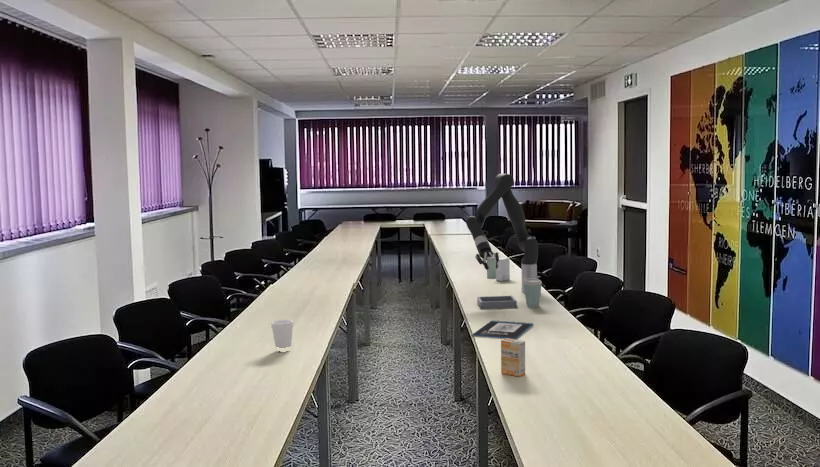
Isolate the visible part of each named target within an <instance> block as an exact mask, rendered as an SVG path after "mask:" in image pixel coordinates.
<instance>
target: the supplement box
mask: <svg viewBox="0 0 820 467" xmlns="http://www.w3.org/2000/svg"><path fill="white" fill-rule="evenodd" d="M500 365H501V366H500V371H501V372H500V373H502V375H508V376H514V377H518V378H521V377H522V376H524V375H526V341H525V340H519V339H517V340H514V339H509V338H506V339H500Z"/></svg>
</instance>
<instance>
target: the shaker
mask: <svg viewBox="0 0 820 467" xmlns="http://www.w3.org/2000/svg"><path fill="white" fill-rule="evenodd" d="M486 263H487V265H488V267H489V268H488V270H486V279H488V280H496V257H487V260H486Z"/></svg>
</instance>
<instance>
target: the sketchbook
mask: <svg viewBox="0 0 820 467" xmlns="http://www.w3.org/2000/svg"><path fill="white" fill-rule="evenodd" d="M533 327H534V323H533V322H526V321H525V322H524V321H514V320H511V321H509V320H499V319H498V320H497V319H495V320H494V319H492V320H490V321H489V322H488V323H486V324H485V325H483V326H482V327H481V328H479V329H478V330H476V331H475V332H473V333H472V334H471V336H470V337H473V338H486V337H488V339H489V338H490V339H499V338H500V340H503V339H506V338H509V339H514V340H519V339H520V337H522V335H524V334H525V333H527V331H529V330H530V329H531V328H533Z"/></svg>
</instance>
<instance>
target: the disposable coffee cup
mask: <svg viewBox="0 0 820 467" xmlns="http://www.w3.org/2000/svg"><path fill="white" fill-rule="evenodd" d="M523 285H524V291H525V292H524V296H525V297H524V298H525V301H526V306H527V307H528V308H538V307H539V306H540V302H541V301H540V300H541V292H542V285H543V282H542V280H540V279H539V278H538V279H532V278H526V279H524V281H523Z"/></svg>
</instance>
